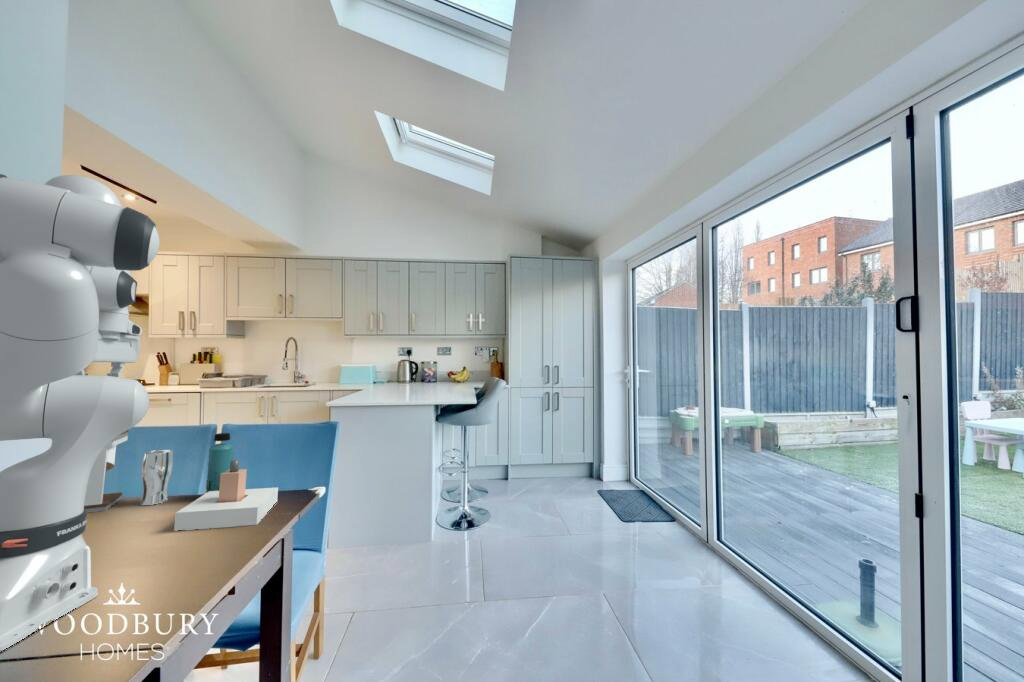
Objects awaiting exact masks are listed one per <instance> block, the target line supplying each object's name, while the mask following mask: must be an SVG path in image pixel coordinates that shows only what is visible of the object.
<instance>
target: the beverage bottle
mask: <svg viewBox="0 0 1024 682" xmlns="http://www.w3.org/2000/svg"><path fill="white" fill-rule="evenodd" d="M230 440H231V434H230V433H229V432H220V433H216V434H214V438H213V441H214V442H222V443H215V444H213V445H212V446H210V448H208V449H209V450H208V451H209V452H208V461H207V462H208V464H207V475H206V476H207V477H206V484H205V487H206V488H205V494H206V493H208V492H209V491H219V488H220V475H221V473H223V472H225V471H228V470H230V461H231V460H234V459H233V457H234V455H233V454H234V445H232V444H231V443H229V442H227V443H226V441H230ZM224 441H225V443H224Z"/></svg>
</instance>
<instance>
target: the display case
mask: <svg viewBox="0 0 1024 682" xmlns="http://www.w3.org/2000/svg"><path fill="white" fill-rule="evenodd" d="M128 439H129V430H127V431H125V432H124V433H122V434H121V435H119V436H118V437H117V438H115V439H114V440H113V441H112V442H111V443H109V444H108V445H107V446H106V447H105V448H104V450H103V451H102V452H101V453H100V455H99V456H98V458H97V459H96V461H95V463H94V465H93V467H92V469H91V472H90V476H89V480H88V484H87V489H86V495H85V502H84V510H86V511H87V514H89V512H93V513H99V512H98V511H102V512H106V511H108V510H109V509H110V508H112V507H113V506H115V505H116V504H117V503H118V502H120V501H119V500H116V499H121V500H123V499H122V497H123V492H121V491H120V492H111V493H104V488H105V482H106V481H105V478H106V472H108V471H110V470H112V469H113V468H114V467H115V462H116V461H115V460H116V452H117V451H116V450H117V446H119V445H120V444H122V443H124V442H127V441H128ZM117 501H118V502H117ZM116 502H117V503H116ZM115 503H116V504H115ZM112 505H113V506H112ZM111 506H112V507H111ZM108 508H109V509H108ZM107 509H108V510H107Z"/></svg>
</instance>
